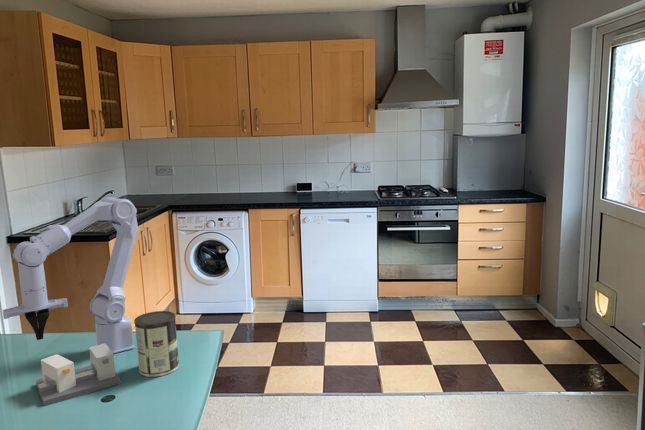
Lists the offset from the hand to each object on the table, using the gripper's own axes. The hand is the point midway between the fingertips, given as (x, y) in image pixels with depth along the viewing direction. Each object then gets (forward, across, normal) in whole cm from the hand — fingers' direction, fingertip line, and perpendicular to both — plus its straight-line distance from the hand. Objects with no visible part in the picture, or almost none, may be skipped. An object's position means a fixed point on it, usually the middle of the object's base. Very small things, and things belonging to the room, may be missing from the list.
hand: (39, 338), depth 133 cm
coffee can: (+10, -25, +17) cm, 32 cm away
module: (+8, -2, +13) cm, 15 cm away
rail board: (+9, -6, +13) cm, 17 cm away
